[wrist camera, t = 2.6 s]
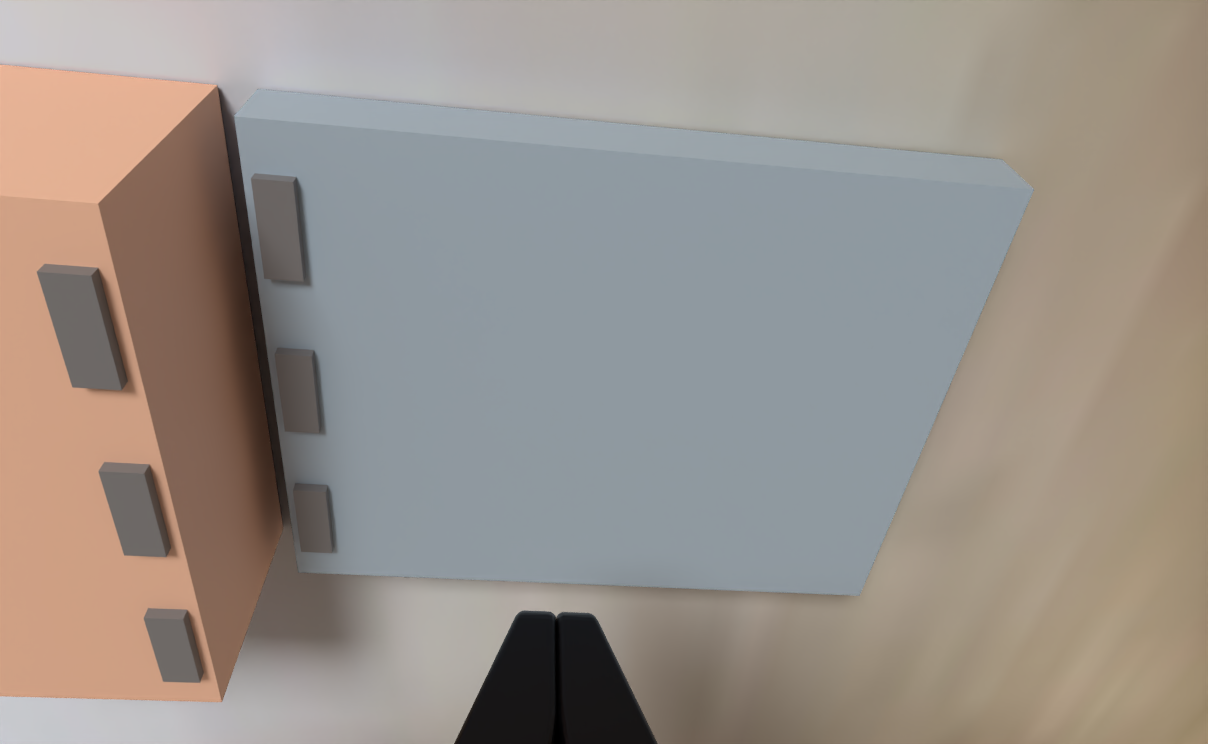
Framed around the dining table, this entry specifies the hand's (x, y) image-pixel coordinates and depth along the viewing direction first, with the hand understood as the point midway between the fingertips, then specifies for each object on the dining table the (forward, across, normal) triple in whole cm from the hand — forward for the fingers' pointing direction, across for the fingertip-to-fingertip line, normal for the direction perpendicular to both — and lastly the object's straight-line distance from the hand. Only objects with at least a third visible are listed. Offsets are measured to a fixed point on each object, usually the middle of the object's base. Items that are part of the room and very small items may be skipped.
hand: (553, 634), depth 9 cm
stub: (+5, +8, 0) cm, 9 cm away
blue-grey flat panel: (+5, -1, 0) cm, 5 cm away
